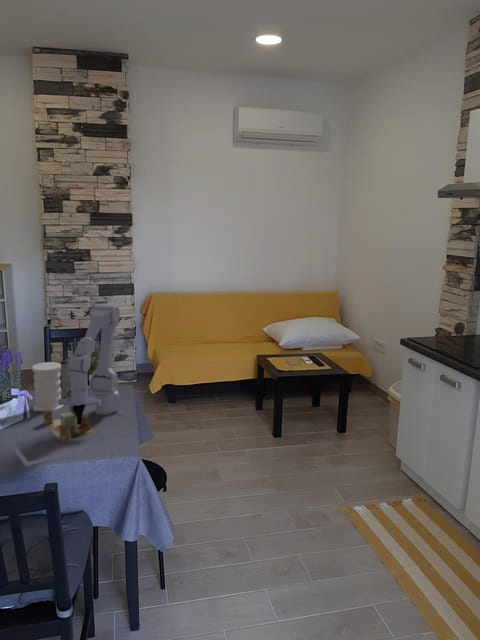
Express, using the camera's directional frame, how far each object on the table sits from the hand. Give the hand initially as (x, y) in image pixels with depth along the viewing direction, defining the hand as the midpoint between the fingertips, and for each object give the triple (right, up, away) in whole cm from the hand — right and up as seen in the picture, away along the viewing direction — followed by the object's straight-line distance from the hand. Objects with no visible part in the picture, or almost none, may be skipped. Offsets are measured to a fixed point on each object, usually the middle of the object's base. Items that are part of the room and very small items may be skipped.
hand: (80, 423), depth 180 cm
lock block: (-6, -1, +4) cm, 7 cm away
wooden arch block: (+1, -2, -2) cm, 3 cm away
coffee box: (-15, +5, +38) cm, 41 cm away
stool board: (-4, -3, +2) cm, 6 cm away
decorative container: (-20, +1, +22) cm, 30 cm away
